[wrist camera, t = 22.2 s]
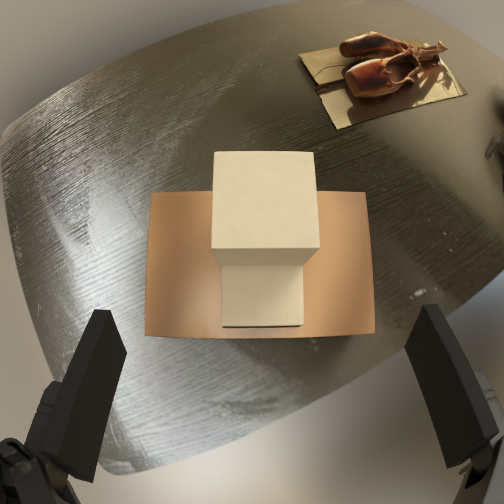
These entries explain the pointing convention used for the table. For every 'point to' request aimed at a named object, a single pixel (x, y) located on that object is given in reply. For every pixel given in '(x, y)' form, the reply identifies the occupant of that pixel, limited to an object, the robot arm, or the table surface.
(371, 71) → the ballet pointe shoes
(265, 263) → the beige block black base
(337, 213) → the shoe shelf
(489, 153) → the dog figurine
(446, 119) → the table surface
